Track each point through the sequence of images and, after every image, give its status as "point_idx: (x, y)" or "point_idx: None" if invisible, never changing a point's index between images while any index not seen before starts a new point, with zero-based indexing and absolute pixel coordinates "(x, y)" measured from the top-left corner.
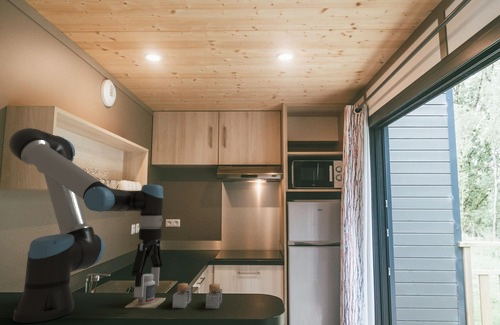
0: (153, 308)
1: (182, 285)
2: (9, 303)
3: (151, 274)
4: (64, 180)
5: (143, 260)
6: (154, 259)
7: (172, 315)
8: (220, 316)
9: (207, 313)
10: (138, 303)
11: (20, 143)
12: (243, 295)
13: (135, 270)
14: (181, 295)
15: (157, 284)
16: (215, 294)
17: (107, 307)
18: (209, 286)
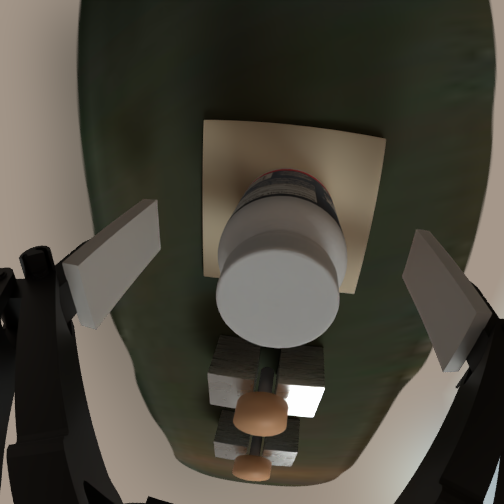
0: (205, 266)
1: (238, 423)
2: None
3: (295, 333)
4: None
5: (5, 415)
6: (446, 432)
7: (147, 339)
8: (170, 422)
9: (183, 408)
10: (261, 174)
11: None
12: (338, 460)
13: (23, 293)
14: (209, 394)
15: (407, 280)
16: (227, 454)
17: (214, 20)
18: (242, 466)
